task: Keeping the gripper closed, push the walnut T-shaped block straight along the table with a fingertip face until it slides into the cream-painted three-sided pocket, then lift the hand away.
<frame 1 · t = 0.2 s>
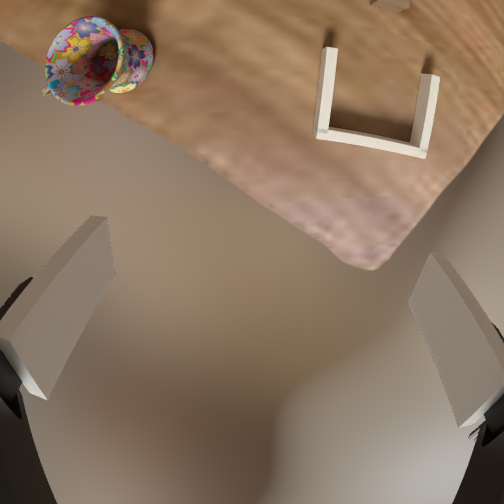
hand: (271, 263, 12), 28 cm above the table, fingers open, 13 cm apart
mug: (116, 65, 31), on the table
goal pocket: (374, 98, 32), on the table
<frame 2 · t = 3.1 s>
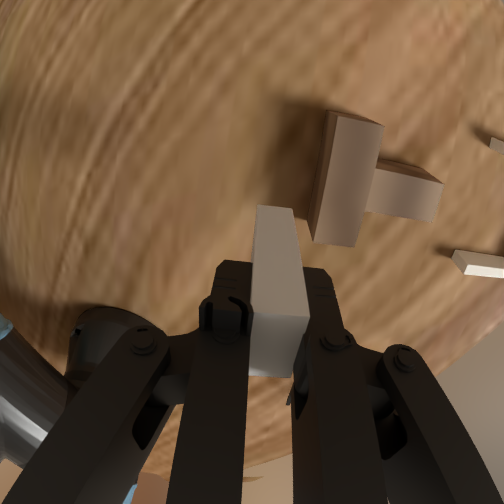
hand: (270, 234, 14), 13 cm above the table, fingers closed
t block: (371, 176, 25), on the table
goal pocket: (502, 208, 26), on the table
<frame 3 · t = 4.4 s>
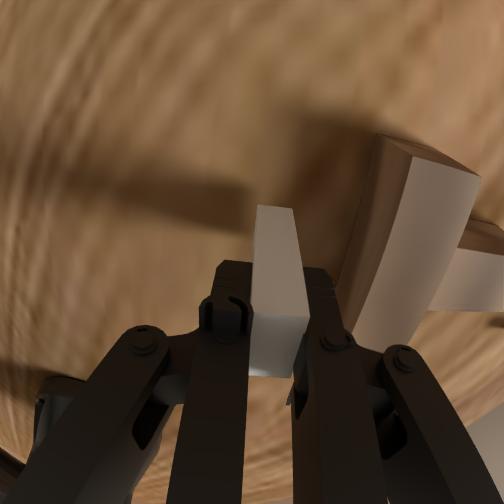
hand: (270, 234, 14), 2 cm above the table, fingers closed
t block: (432, 240, 15), on the table
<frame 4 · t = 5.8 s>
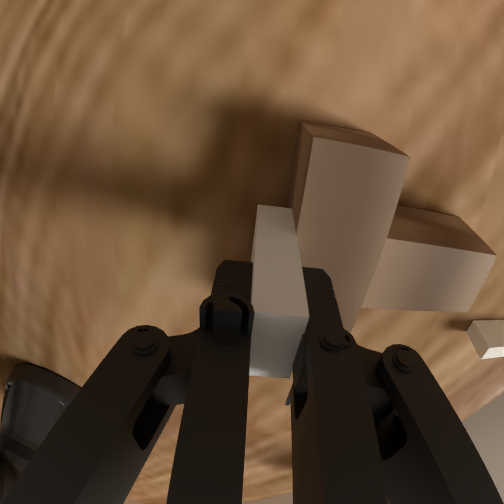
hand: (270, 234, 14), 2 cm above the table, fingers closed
t block: (377, 232, 15), on the table, touching gripper
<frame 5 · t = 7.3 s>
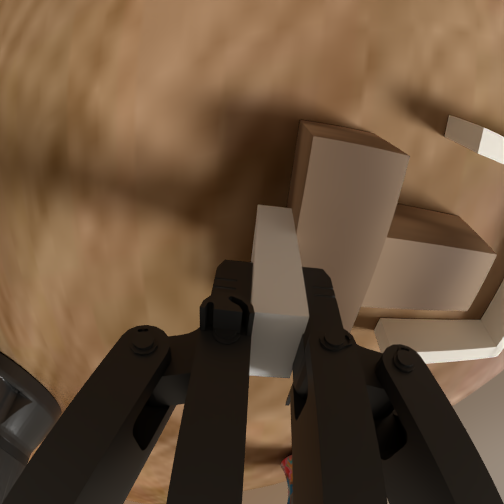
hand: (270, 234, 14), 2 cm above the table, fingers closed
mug: (315, 457, 33), on the table
t block: (377, 232, 15), on the table, touching gripper
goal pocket: (474, 249, 16), on the table
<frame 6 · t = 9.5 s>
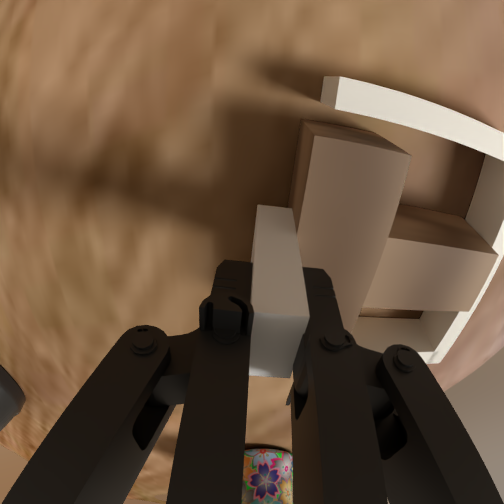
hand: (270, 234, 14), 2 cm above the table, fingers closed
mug: (266, 457, 32), on the table
t block: (378, 232, 15), on the table, touching gripper
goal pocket: (390, 234, 15), on the table
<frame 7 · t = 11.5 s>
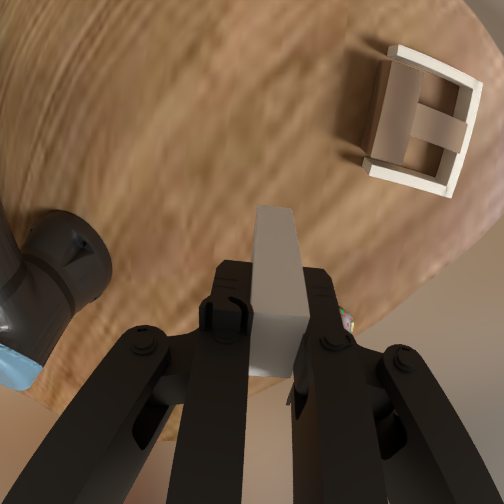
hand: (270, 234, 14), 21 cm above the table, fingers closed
t block: (411, 117, 28), on the table
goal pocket: (416, 119, 28), on the table
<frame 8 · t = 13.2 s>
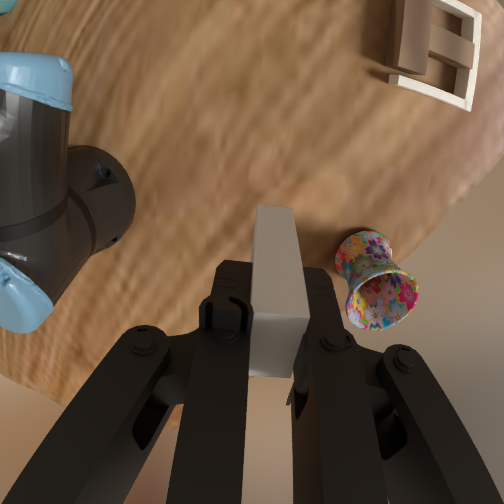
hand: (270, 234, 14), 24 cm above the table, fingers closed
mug: (362, 260, 43), on the table
t block: (425, 42, 26), on the table
cup: (11, 0, 22), on the table
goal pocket: (430, 44, 26), on the table
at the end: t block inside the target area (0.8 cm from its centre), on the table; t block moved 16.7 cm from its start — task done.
